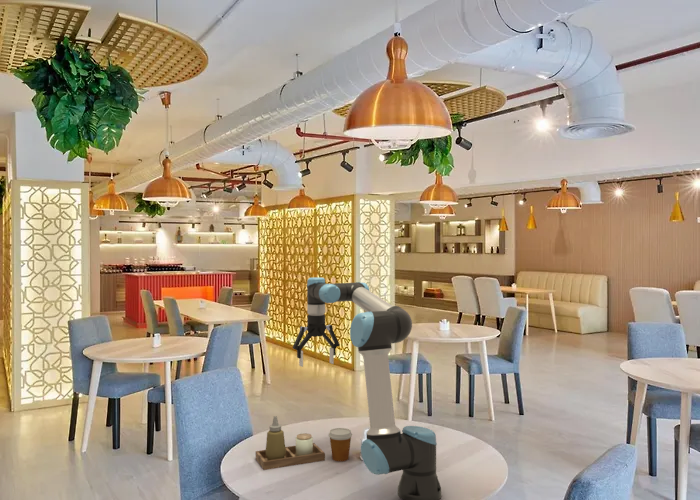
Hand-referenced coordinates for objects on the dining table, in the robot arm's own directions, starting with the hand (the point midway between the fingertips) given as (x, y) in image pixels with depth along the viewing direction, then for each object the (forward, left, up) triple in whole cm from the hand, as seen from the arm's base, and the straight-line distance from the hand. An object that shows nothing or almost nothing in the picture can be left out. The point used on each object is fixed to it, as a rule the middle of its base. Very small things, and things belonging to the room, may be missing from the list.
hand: (316, 364), depth 250 cm
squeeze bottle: (-7, +20, -36) cm, 42 cm away
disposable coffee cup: (-14, -5, -37) cm, 40 cm away
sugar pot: (-7, +8, -36) cm, 37 cm away
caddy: (-7, +14, -37) cm, 40 cm away
